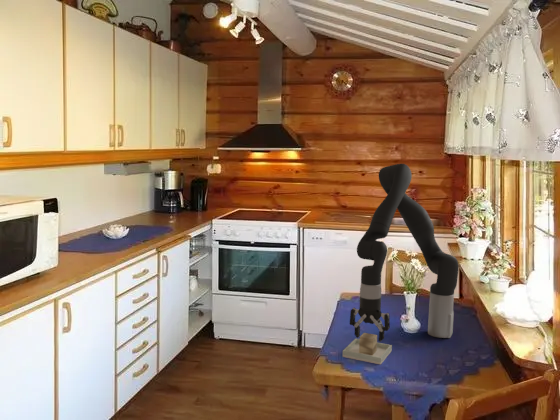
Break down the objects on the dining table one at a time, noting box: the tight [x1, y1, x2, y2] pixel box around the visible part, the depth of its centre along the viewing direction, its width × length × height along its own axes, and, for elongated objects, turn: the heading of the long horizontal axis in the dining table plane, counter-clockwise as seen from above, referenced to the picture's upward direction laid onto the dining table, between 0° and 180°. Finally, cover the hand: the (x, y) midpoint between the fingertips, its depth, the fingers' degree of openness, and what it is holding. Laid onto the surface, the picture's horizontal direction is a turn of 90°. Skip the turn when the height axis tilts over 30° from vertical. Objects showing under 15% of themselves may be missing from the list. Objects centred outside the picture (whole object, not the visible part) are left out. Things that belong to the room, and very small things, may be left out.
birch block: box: [359, 332, 378, 355], centre depth 200 cm, size 5×5×6 cm
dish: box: [342, 338, 393, 365], centre depth 201 cm, size 14×14×2 cm
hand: (369, 338), depth 200 cm, fingers open, 8 cm apart
